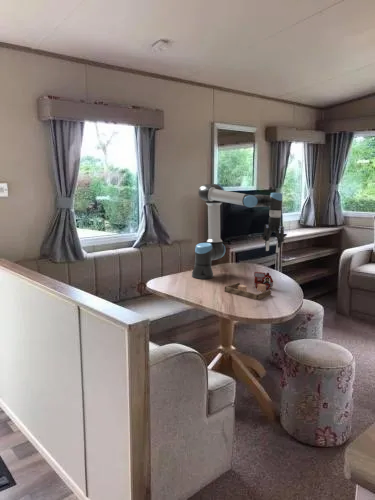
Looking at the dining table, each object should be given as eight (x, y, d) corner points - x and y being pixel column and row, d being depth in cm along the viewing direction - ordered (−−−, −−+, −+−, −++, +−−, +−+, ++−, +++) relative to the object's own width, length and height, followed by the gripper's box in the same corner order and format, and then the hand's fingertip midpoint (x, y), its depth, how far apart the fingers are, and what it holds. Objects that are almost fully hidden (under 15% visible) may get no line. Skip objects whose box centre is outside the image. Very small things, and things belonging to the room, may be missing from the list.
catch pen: (224, 291, 258) (224, 286, 257) (238, 286, 269) (238, 282, 268) (257, 300, 242) (257, 295, 242) (270, 295, 253) (271, 290, 253)
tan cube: (256, 290, 262) (257, 284, 261) (260, 289, 265) (260, 283, 264) (262, 292, 259) (262, 286, 258) (265, 290, 262) (266, 284, 261)
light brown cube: (237, 285, 257) (242, 284, 260) (237, 291, 258) (241, 290, 260) (242, 287, 254) (247, 286, 257) (242, 293, 255) (246, 292, 257)
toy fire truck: (272, 290, 264) (274, 274, 263) (253, 288, 266) (254, 272, 265) (272, 287, 271) (273, 271, 269) (253, 285, 273) (254, 270, 271)
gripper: (258, 215, 271) (256, 250, 275) (285, 218, 258) (283, 254, 262) (264, 215, 276) (262, 248, 280) (291, 217, 263) (288, 253, 268)
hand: (272, 251), depth 271 cm, fingers open, 7 cm apart
